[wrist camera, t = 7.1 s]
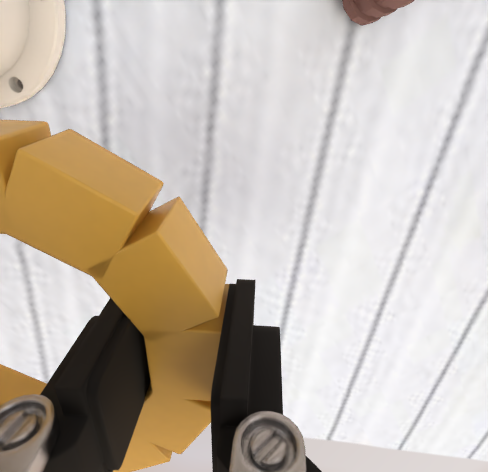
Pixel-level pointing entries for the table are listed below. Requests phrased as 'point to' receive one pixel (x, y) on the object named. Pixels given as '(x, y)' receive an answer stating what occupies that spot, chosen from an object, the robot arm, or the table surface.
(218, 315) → the ring
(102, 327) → the robot arm
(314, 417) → the table surface
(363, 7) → the toilet paper hanger
